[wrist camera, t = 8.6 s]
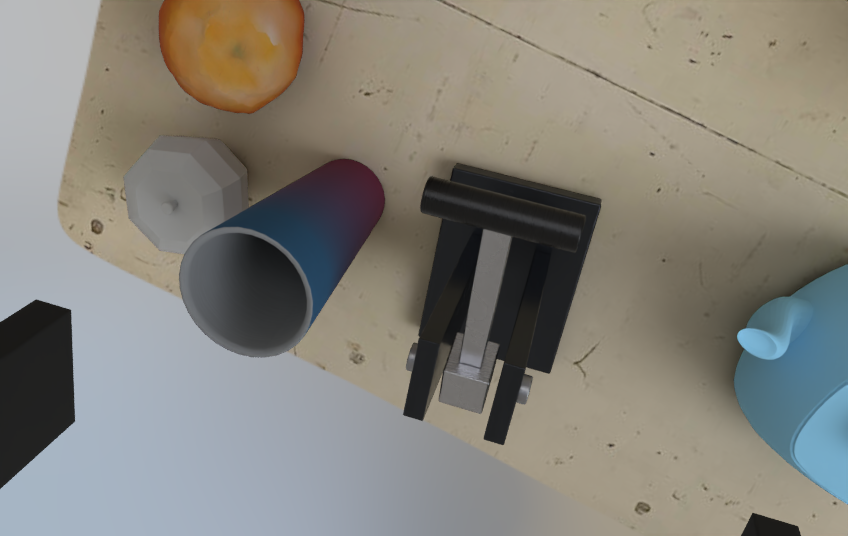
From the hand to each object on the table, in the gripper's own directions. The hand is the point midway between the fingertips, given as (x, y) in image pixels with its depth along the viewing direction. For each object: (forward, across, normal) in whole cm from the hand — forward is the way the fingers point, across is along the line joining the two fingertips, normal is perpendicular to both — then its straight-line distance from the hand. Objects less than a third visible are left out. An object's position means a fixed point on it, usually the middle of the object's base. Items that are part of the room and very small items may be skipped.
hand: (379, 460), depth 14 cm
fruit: (+33, -18, 0) cm, 38 cm away
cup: (+33, -11, -9) cm, 36 cm away
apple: (+33, -20, -10) cm, 40 cm away
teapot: (+33, +20, -10) cm, 40 cm away
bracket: (+33, 0, -11) cm, 35 cm away
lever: (+19, 0, -5) cm, 20 cm away
